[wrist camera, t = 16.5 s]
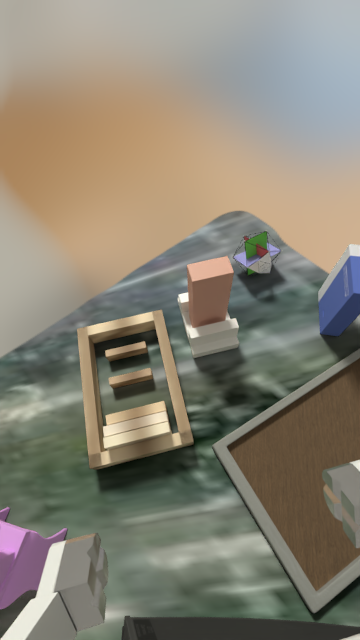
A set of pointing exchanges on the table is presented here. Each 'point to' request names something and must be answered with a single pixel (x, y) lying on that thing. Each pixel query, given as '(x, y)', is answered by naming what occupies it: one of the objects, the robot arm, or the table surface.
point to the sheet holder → (208, 332)
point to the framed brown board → (302, 478)
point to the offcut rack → (139, 423)
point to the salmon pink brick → (209, 290)
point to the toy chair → (21, 559)
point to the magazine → (230, 629)
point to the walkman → (341, 294)
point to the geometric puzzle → (257, 254)
